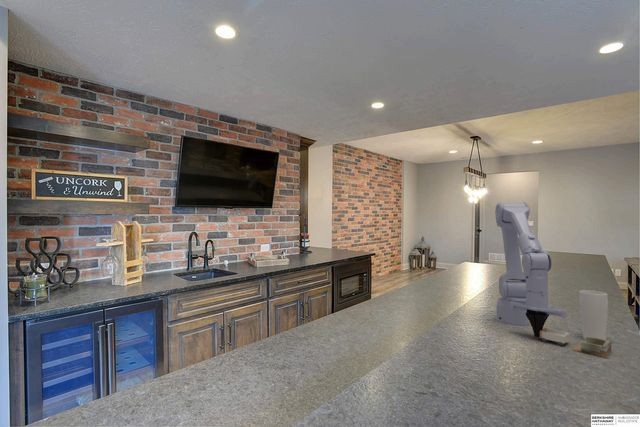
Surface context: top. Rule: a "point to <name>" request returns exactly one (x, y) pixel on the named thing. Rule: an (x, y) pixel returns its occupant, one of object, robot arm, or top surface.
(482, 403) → the top surface
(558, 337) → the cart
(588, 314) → the drinking glass
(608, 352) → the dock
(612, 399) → the top surface
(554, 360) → the top surface
